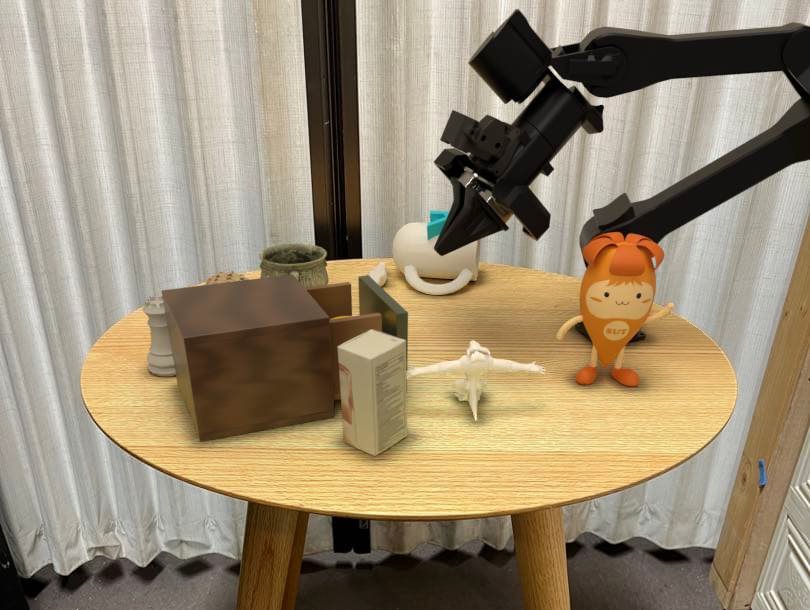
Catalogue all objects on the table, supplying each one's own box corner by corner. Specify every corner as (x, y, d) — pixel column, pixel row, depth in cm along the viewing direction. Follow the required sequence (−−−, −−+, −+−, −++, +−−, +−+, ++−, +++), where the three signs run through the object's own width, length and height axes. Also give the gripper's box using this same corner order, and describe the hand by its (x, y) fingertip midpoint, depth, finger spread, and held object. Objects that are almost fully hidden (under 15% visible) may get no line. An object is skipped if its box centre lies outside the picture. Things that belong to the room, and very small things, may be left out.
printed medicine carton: (374, 422, 83) (373, 327, 77) (408, 437, 81) (409, 339, 75) (339, 442, 80) (334, 344, 74) (373, 458, 77) (371, 358, 71)
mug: (394, 197, 113) (481, 202, 111) (398, 251, 121) (480, 256, 119) (379, 257, 107) (471, 263, 105) (385, 309, 115) (470, 315, 113)
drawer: (379, 349, 95) (379, 273, 90) (417, 391, 86) (419, 310, 81) (263, 367, 91) (255, 289, 85) (291, 414, 82) (284, 330, 77)
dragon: (534, 374, 89) (549, 324, 82) (544, 429, 86) (561, 383, 79) (396, 379, 88) (399, 329, 81) (401, 436, 85) (405, 389, 78)
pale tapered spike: (373, 271, 119) (373, 258, 117) (392, 272, 118) (392, 259, 117) (354, 310, 107) (354, 296, 106) (374, 311, 106) (374, 297, 105)
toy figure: (553, 388, 89) (571, 248, 80) (548, 357, 96) (565, 224, 87) (664, 393, 89) (694, 252, 80) (652, 361, 95) (679, 228, 86)
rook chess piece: (153, 381, 90) (140, 310, 85) (144, 365, 93) (130, 295, 88) (194, 373, 92) (183, 303, 87) (183, 357, 95) (172, 289, 90)
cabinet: (299, 367, 93) (292, 274, 87) (334, 417, 84) (329, 317, 77) (177, 386, 89) (161, 290, 82) (200, 441, 80) (183, 337, 73)
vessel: (332, 316, 105) (330, 267, 101) (262, 319, 104) (257, 270, 100) (326, 283, 114) (324, 237, 111) (262, 286, 113) (257, 239, 110)
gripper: (453, 67, 90) (360, 182, 93) (536, 94, 76) (423, 228, 80) (511, 140, 97) (422, 245, 100) (596, 178, 83) (490, 298, 87)
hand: (437, 252), depth 92 cm, fingers closed
